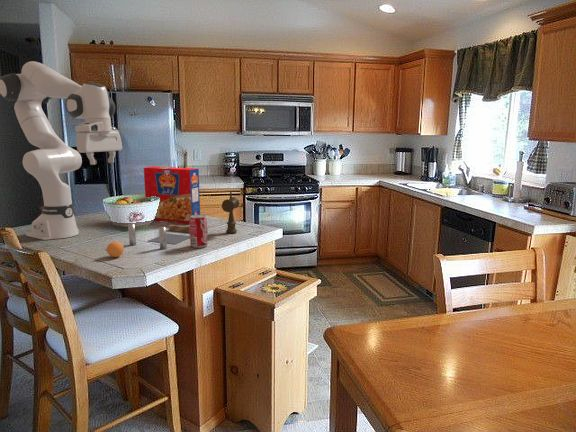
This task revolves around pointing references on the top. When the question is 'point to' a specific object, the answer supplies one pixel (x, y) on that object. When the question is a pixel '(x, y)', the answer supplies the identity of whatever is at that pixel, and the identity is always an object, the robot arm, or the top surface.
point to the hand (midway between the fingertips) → (102, 163)
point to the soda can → (198, 231)
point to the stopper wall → (179, 228)
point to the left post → (132, 234)
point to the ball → (115, 249)
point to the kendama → (230, 212)
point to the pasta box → (173, 192)
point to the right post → (162, 237)
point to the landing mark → (171, 238)
